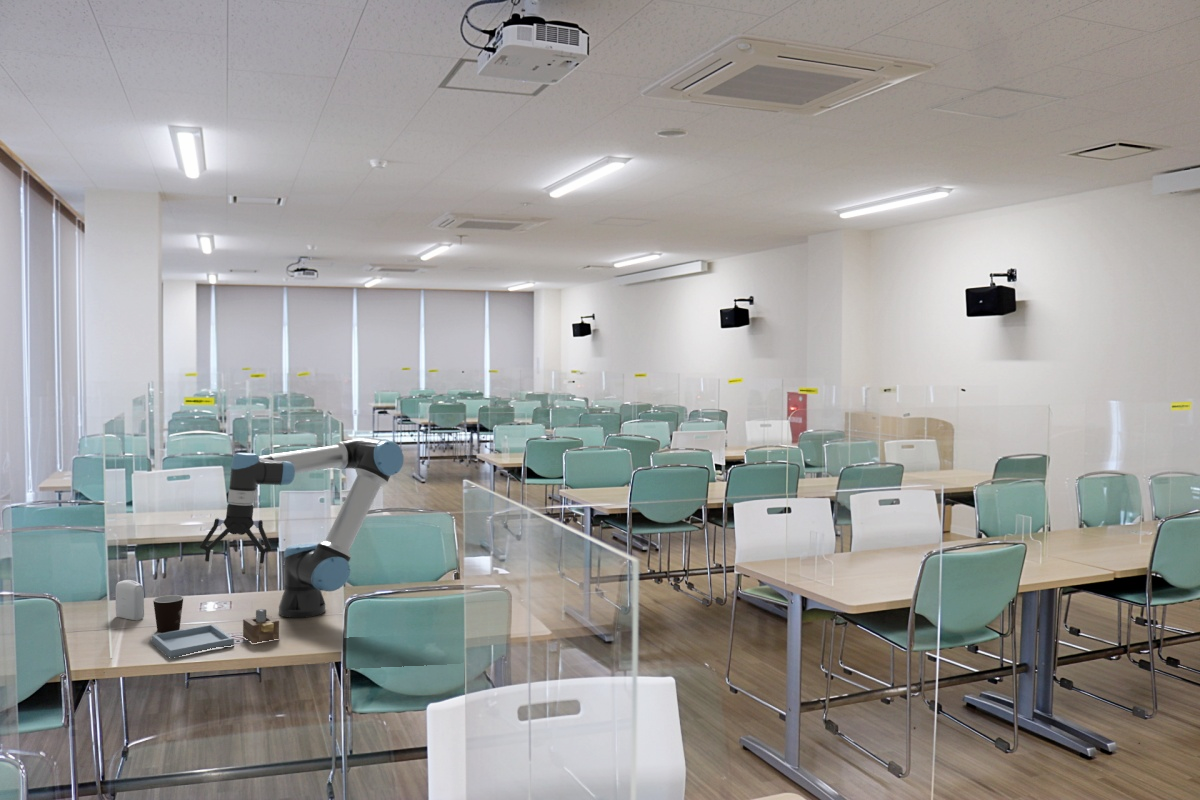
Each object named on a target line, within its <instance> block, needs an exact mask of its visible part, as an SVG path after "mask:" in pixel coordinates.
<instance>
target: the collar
mask: <svg viewBox="0 0 1200 800" xmlns="http://www.w3.org/2000/svg"><path fill="white" fill-rule="evenodd" d="M243 637H245V638H246V639H248V640H249V641H251V642H252V643H257V642H262V641H269V640H274V639H279V640H280V621H279V619H277V618H275V617H273V616H272V615H270V614H266V621H265V622H260V623H256V616H254V617H249V618H244V619H242V638H243Z"/></svg>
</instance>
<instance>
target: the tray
mask: <svg viewBox="0 0 1200 800" xmlns="http://www.w3.org/2000/svg"><path fill="white" fill-rule="evenodd" d="M151 644H153V645H154V647H156V648H157V649H158V650H159V651H160V652H161V653H163V654H164V655H165V654H166V655H167V656H166V655H165V656H166V657H168V658H169V657H170V658H173V659H175V658H174V657H178V658H180V657H179V656H182V655H186V654H190V653H194V652H198V651H202V650H207V649H210V648H211V649H212V648H216V647H224V646H231V645H234V646H235V638H234V637H232V636H231V635H230V634H228V633H227V632H225V631H224V630H222V629H221V628H219V627H218V626H217V625H215V624H213V623H211V624H205V625H199V626H195V627H189V628H183V629H179V630H176V631H171V632H165V633H159V632H158V633H156V634H151ZM170 658H169V659H170Z"/></svg>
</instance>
